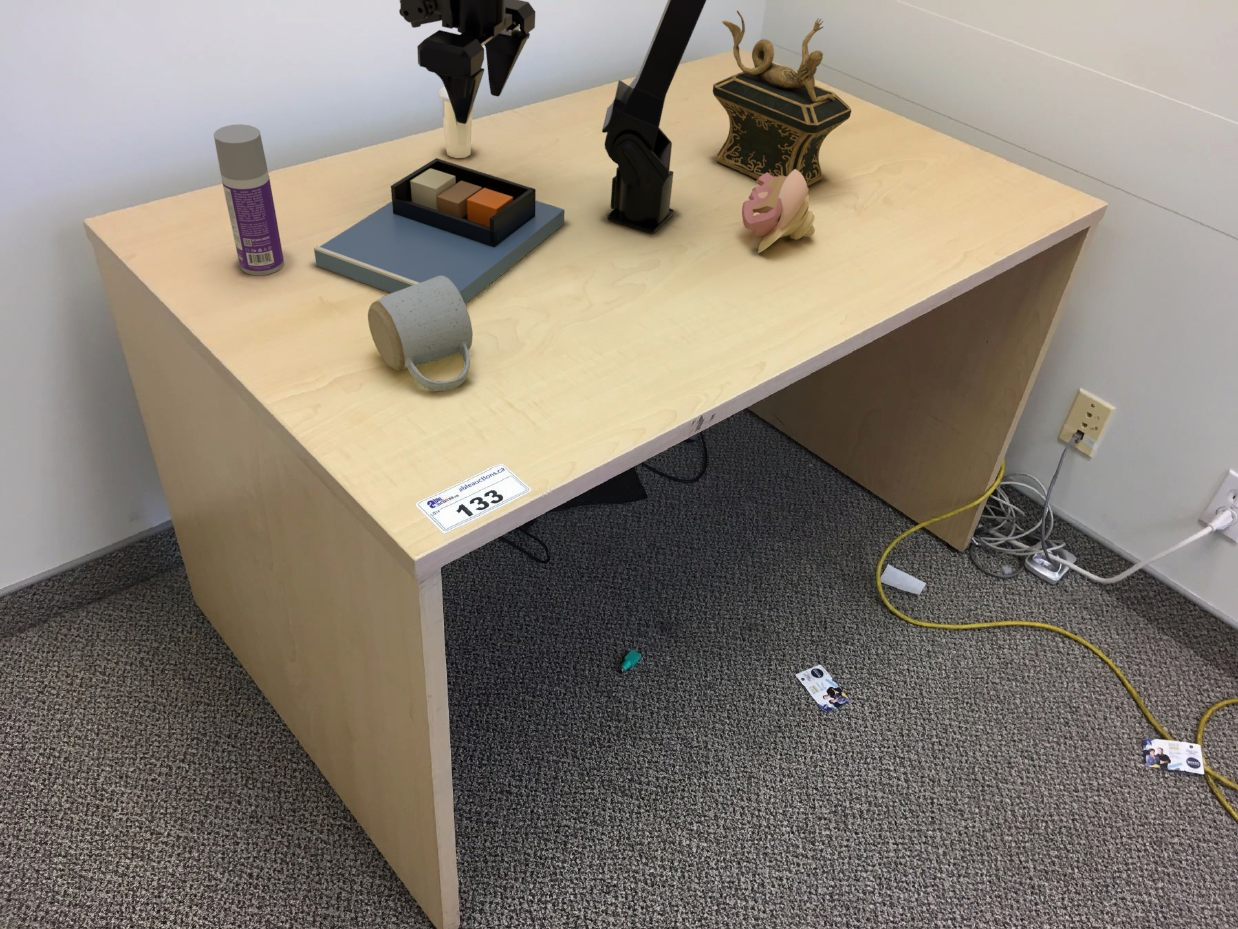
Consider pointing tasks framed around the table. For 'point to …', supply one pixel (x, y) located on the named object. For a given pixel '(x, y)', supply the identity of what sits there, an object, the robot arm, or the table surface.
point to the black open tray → (464, 201)
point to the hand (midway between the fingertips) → (479, 108)
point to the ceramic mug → (422, 328)
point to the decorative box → (777, 112)
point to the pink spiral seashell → (779, 208)
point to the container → (249, 198)
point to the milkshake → (455, 129)
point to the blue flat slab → (428, 251)
